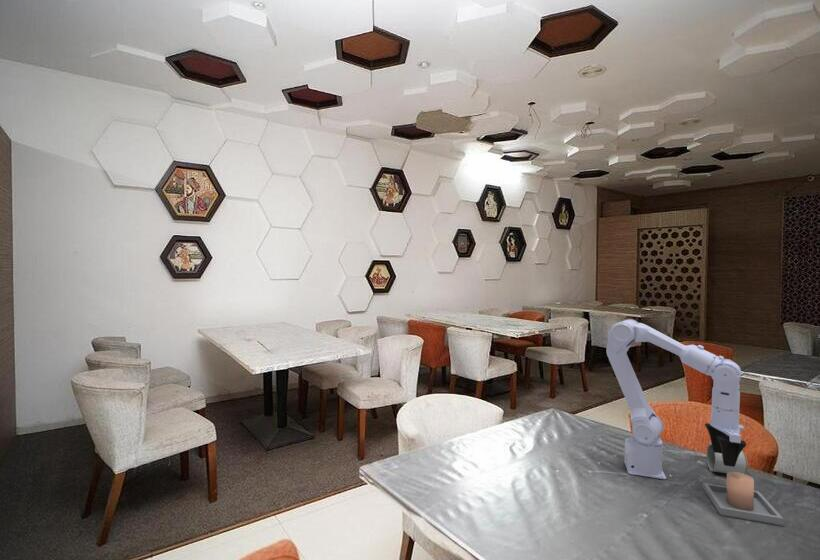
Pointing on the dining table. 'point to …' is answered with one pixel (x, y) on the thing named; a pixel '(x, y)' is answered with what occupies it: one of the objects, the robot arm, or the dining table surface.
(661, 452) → the robot arm
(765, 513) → the tray
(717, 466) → the ceramic mug
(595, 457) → the dining table surface
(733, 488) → the pink pillar candle
